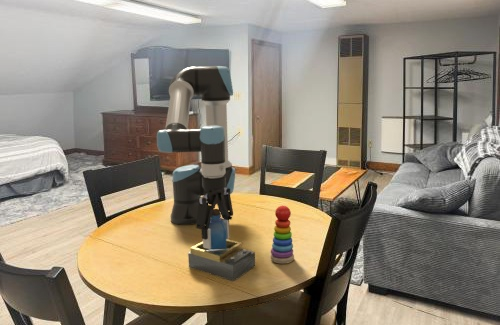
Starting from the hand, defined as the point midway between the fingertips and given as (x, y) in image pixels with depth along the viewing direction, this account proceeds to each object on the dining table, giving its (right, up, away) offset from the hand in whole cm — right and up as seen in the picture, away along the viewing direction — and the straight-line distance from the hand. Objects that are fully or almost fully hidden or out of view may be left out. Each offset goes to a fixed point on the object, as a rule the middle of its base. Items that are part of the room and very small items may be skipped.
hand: (216, 242), depth 137 cm
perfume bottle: (0, -1, 0) cm, 1 cm away
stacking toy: (+22, -7, +5) cm, 23 cm away
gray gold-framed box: (+2, -8, 0) cm, 8 cm away
